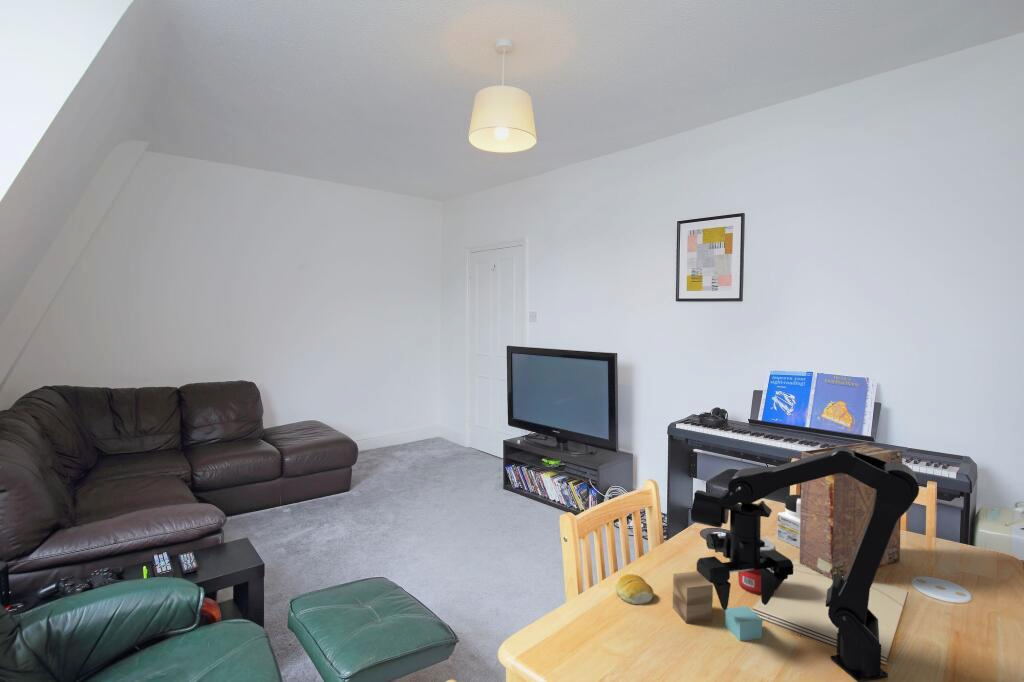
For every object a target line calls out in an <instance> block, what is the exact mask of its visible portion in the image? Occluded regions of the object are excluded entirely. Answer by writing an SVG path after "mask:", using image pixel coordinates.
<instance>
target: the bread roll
mask: <svg viewBox="0 0 1024 682" xmlns="http://www.w3.org/2000/svg"><path fill="white" fill-rule="evenodd" d="M615 592H616V593H615V594H617V596H619V598H620V599H621V600H622V601H624V602H626V603H628V604H633V605H644V604H648V603H650V602H651V601H652V599H653V597H654V590H653V588H652V586H651V585H650V584H648V582H646V580H645V578H643V577H642V576H639V575H637V574H630V573H629V574H624V575H622V576H620V577H619V578H618V580H617V581H616V583H615Z"/></svg>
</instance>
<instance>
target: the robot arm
mask: <svg viewBox="0 0 1024 682" xmlns="http://www.w3.org/2000/svg"><path fill="white" fill-rule="evenodd" d="M838 473H845V474H847V475H849V476H851V477H853V478H855V479H857V480H858V481H860V482H862V483H864V484H865V485H867V486H869V487H871V488H874V489H875V491H874V500H873V507H872V510H871V513H870V515H869V518H868V520H867V523H866V526H865V528H864V531H863V533H862V536H861V538H860V541H859V544H858V546H857V549H856V551H855V554H854V557H853V559H852V562H851V564H850V567H849V570H848V571H847V573H846V574H845V575H844V576H843V577H839V576H838V575H836V574H834V576H833V579H832V584H831V585H830V587H829V588H827V591H826V596H825V597H826V598H825V607H826V608H827V607H828V609H827V610H828V613H827V614H828V615H827V616H828V618H829V620H830V622H831V623H832V625H834V626H835V628H837V629H838V630H837V631H838V632H837V634H836V654H835V655H834V654H833V655H831V656H830V660H831V661H833V663H835V664H836V665H837V666H838V667H839V668H840V669H842V671H843V670H844V671H845V672H846V673H847V674H848V675H849V676H850V677H852V678H853V679H854V680H855V681H857V682H867V681H872V680H878V679H884V678H888V675H889V674H888V673H887V671H885V670H884V669H882V667H881V666H882V658H881V657H882V644H881V643H880V630H879V618H878V617H876V615H875V614H874V613H873V612H872V611H871V610H870V609H869V601H870V600H869V599H870V592H871V589H872V588H871V587H872V585H873V582H874V580H875V577H876V575H877V573H878V570H879V568H880V567H879V565H880V562H881V560H882V557H883V555H884V552H885V550H886V547H887V545H888V542H889V540H890V537H891V535H892V532H893V530H894V527H895V525H896V522H897V521H898V520H899V518H900V517H901V518H902V516H904V514H905V513H906V512H907V511H908V510H909V509H910V508H911V506H912V504H913V503H914V502H915V500H916V499H917V498H918V496H919V493H920V485H919V482H918V479H917V476H916V473H915V472H914V470H913V469H912V468H911V467H910V466H908V465H906V464H905V463H903V462H902V463H899V462H886V461H883V460H881V459H878V458H876V457H872V456H869V455H865V454H862V453H859V452H856V451H853V450H851V449H849V448H847V447H838V448H835V449H834V450H832V451H828V452H825V453H821V454H818V455H814V456H811V457H807V458H804V459H797V460H794V461H790V462H786V463H784V464H783V463H782V464H779V465H776V466H767V467H766V466H765V467H763V466H757V467H748V468H741V469H739V470H738V471H737V472H735V474H734V475H733V476H732V478H731V479H730V480H729V482H728V484H727V489H725V490H724V491H723V493H722V494H717V493H711V492H708V491H707V492H706V491H704V490H700V489H699V490H698V489H697V490H696V491H695V492H694V495H693V496H694V498H693V501H692V505H691V509H690V519H691V523H695V524H700V525H705V526H708V527H709V526H710V527H713V528H714V527H715V528H718V529H721V528H722V526H723V524H724V525H727V524H728V522H729V532H727V531H726V533H725V535H719V534H718V533H716V532H715V533H714V532H710V533H706V537H705V542H706V547H707V548H708V550H714V552H715V553H722V556H723V557H724V558H725V559H729V561H726V562H722V561H721V560H720V559H718V558H717V557H716V556H708V557H705V556H704V557H700V558H698V560H696V561H697V562H696V571H698V572H699V573H700V574H701V575H702V576H703V577H705V578H706V579H707V580H708V581H709V582H710V583H711V584H712V585H713V588H714V589H715V592H716V595H717V598H718V600H719V604H720V606H721V608H722V609H723V610H724V611H725V610H727V608H728V606H729V601H730V593H731V585H732V584H731V583H730V582H729V580H730V578H731V573H737V572H740V571H749V570H756V569H759V571H760V573H761V595H760V600H761V603H762V605H764V606H766V605H768V603H769V602H770V600H771V599H772V597H773V595H774V594H775V593H776V592H777V590H778V588H779V587H780V586H781V584H782V583H783V582H784V581H785V580H787V579H788V578H789V576H791V575H792V576H793V575H794V564H793V561H792V560H791V559H790V558H789V557H787V556H785V555H784V554H782V553H781V552H779V551H777V550H771V551H761V552H760V547H765V542H764V541H762V540H761V539H760V538H761V533H762V532H761V523H762V520H761V519H762V518H763V517H764V518H770V516H771V513H772V512H773V510H772V508H771V507H769V506H768V505H767V504H766V502H765V501H764V500H762V499H764V498H765V497H767V496H769V495H771V494H772V493H774V492H776V491H778V490H781V489H784V488H788V487H790V486H795V485H799V484H801V483H803V482H807V481H811V480H815V479H819V478H822V477H826V476H830V475H834V474H838ZM760 500H761V501H760ZM757 501H760V502H759V503H755V502H757ZM761 517H762V518H761Z"/></svg>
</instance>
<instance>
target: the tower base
mask: <svg viewBox="0 0 1024 682" xmlns="http://www.w3.org/2000/svg"><path fill="white" fill-rule="evenodd" d="M672 609H673V610H674V611H675V612H676V613H677V615H678V616H679V617H680V618H681V619H682V620H683V622H685V625H686V624H695V623H702V622H710V621H712V620H713V603H708V604H700V605H691V606H686V604H685V603H684V602H683V601H682V600H681V599H680V598H679V597H678V596H677V595H676V594H675V593H674V592H673V591H672Z"/></svg>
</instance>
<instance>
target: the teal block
mask: <svg viewBox="0 0 1024 682" xmlns="http://www.w3.org/2000/svg"><path fill="white" fill-rule="evenodd" d="M724 611H725V612H724V614H725V617H724V618H725V619H724V620H725V621H724V623H725V624H724V626H725V627H726V630H727V629H728V631H729V632H730V633H731V634H732V635H733V636H734V637H735V638H736V639H737V640H738V641H740V642H742V641H749V640H758V639H762V638H763V618H761V617H760V616H759V615H758V614H757V613H756V612H754V611H753V610H752V609H751V608H750V607H749V606H747V605H744V606H742V605H741V606H736V607H735V606H734V607H727V610H724Z"/></svg>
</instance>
